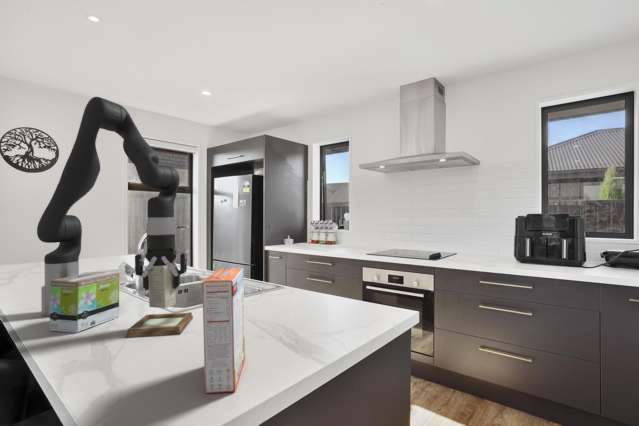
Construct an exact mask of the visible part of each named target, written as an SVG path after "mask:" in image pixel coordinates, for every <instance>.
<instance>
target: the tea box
mask: <svg viewBox="0 0 639 426" xmlns="http://www.w3.org/2000/svg"><path fill="white" fill-rule="evenodd" d="M119 317H120V272H102V271H95V272H94V271H93V272H89V273H83V274H79V275H77V276H71V277H66V278H61V279H55V280H51V294H50V316H49V331H52V332H60V333H61V332H62V333H73V334H78V333H79V332H82V331H84V330H87V329H89V328H92V327H95V326H98V325H101V324H103V323H107V322H110V321H113V320H115V318H116V319H118V318H119ZM112 319H113V320H112Z"/></svg>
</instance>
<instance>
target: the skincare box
mask: <svg viewBox="0 0 639 426" xmlns="http://www.w3.org/2000/svg"><path fill="white" fill-rule="evenodd" d="M172 265H173V266H174V264H172ZM173 277H174V274H173V273H172V272H171V271H170V270H169V266H166V265H162V266H152V268H151V270H150V271H149V273H148V287H149V290H148V305H149V308H156V309H157V308H158V309H167V308H170V307H173V306H176V304H177V302H176V299H177V298H176V289H174V288H173Z"/></svg>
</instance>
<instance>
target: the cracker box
mask: <svg viewBox="0 0 639 426" xmlns="http://www.w3.org/2000/svg"><path fill="white" fill-rule="evenodd" d="M201 287H202V288H201V289H202V320H203V321H202V322H203V323H202V325H203V328H202V329H203V330H202V331H203V358H204V359H203V365H204V366H203V367H204V369H203V370H204V394H220V393H233V392H234V393H235V392H236V391H237V387H238V384H239V381H240V377H241V374H242V371H243V367H244V363H245V360H246V334H245V328H246V327H245V294H244V293H245V291H244V289H245V288H244V287H245V286H244V268H243V267H224V268H223V267H222V268H218V269H217V270H216V271H215V272H212V273H211V275H209V276H208V277H207V278H206V279H204V280H203V281H202V282H201Z"/></svg>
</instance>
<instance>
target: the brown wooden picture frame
mask: <svg viewBox="0 0 639 426" xmlns="http://www.w3.org/2000/svg"><path fill="white" fill-rule="evenodd" d="M193 319H194V315H193V313H192V312H191V311H190V312H189V311H188V312H175V313H174V312H171V313H152V314H151V313H149V314H146V315H144V316H143V317H142V318H140V319H139V320H138V321H136V322H135V323H133V325H131V326H130V327H129V328H128V329H127V333H125V338H134V337H135V338H137V337H153V336H154V337H155V336H173V335H176V336H177V335H181V334H182V333H183V332H184V330H186V328H187V326H188V325H189V324H190V323H191V322H192V320H193Z"/></svg>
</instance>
